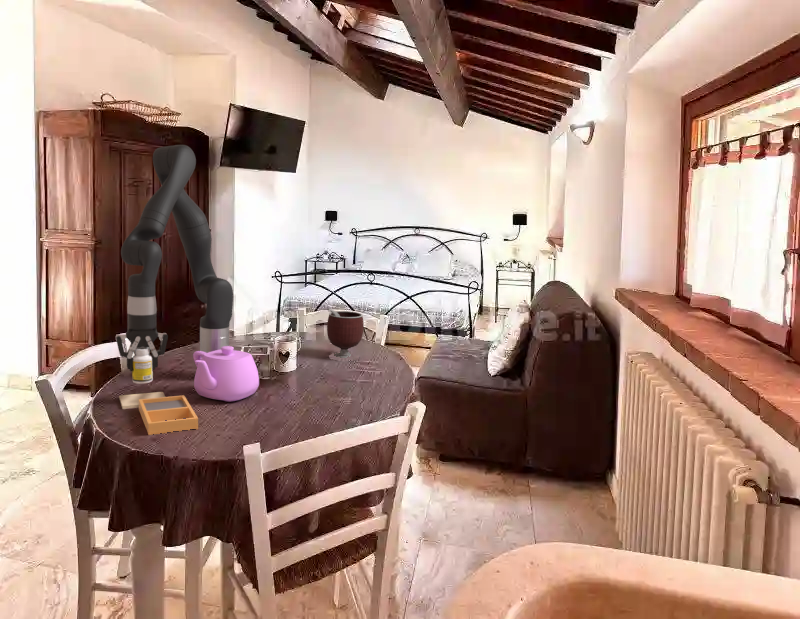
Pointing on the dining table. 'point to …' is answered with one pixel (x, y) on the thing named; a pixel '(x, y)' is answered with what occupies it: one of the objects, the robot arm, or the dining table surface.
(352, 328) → the mate gourd
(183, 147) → the robot arm
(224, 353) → the teapot
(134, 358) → the supplement bottle
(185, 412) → the divided wooden tray
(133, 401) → the mat
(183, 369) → the dining table surface
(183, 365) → the dining table surface
